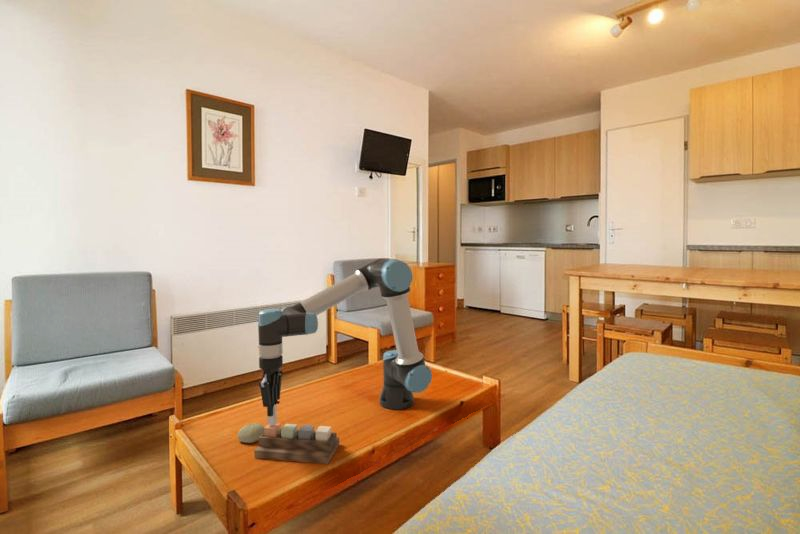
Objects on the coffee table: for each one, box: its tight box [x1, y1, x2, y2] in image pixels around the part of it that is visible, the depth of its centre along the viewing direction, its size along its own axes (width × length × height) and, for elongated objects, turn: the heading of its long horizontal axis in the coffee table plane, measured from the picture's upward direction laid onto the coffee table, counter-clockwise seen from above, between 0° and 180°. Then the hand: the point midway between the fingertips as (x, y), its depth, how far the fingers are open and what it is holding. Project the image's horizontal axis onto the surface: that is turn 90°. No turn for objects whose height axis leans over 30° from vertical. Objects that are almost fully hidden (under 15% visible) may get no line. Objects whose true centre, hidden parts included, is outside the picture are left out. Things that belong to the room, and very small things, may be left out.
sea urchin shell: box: [237, 422, 265, 444], centre depth 141 cm, size 9×8×8 cm
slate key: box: [297, 424, 315, 440], centre depth 132 cm, size 4×4×4 cm
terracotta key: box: [264, 422, 282, 438], centre depth 133 cm, size 4×4×4 cm
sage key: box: [281, 423, 298, 439], centre depth 133 cm, size 4×4×4 cm
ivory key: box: [315, 425, 332, 441], centre depth 131 cm, size 4×4×4 cm
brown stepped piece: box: [253, 429, 340, 465], centre depth 132 cm, size 25×12×6 cm, turn 82°
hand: (272, 423), depth 133 cm, fingers closed
